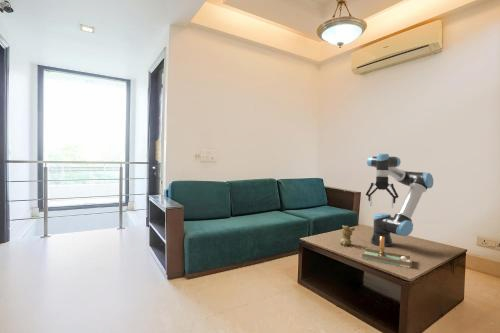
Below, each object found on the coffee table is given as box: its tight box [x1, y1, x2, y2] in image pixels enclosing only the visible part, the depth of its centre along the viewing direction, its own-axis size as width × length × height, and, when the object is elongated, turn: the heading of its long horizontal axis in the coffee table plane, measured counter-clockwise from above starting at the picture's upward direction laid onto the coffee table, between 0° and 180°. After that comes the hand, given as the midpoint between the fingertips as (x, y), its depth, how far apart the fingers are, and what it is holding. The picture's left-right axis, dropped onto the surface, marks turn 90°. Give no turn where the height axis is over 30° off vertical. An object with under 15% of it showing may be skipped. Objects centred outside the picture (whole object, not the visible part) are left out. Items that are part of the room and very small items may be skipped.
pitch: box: [361, 247, 413, 269], centre depth 174 cm, size 13×28×4 cm, turn 57°
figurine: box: [339, 224, 356, 247], centre depth 203 cm, size 10×9×15 cm
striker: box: [378, 236, 388, 257], centre depth 176 cm, size 6×5×13 cm
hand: (381, 206), depth 184 cm, fingers open, 13 cm apart
